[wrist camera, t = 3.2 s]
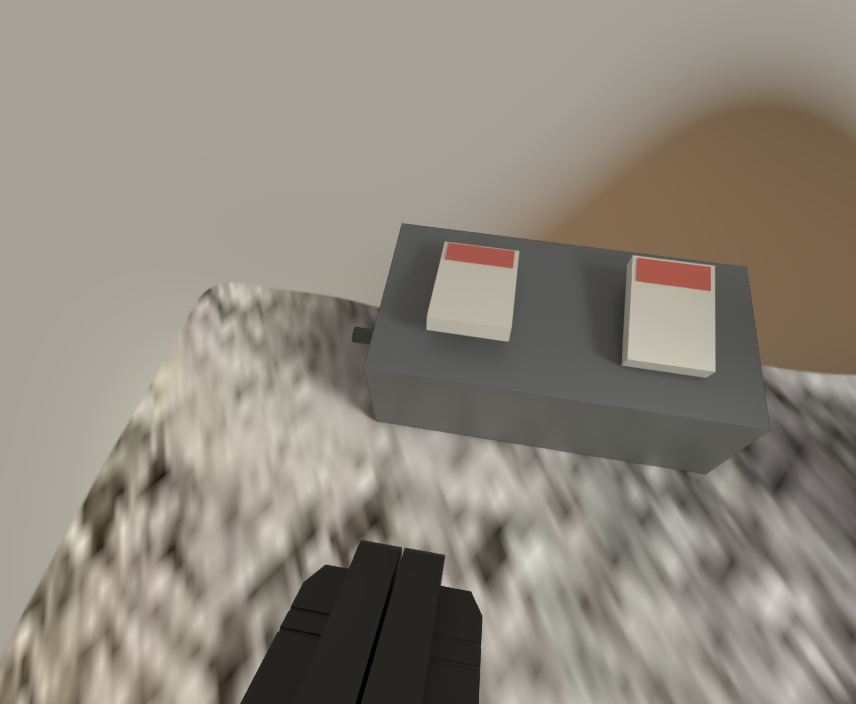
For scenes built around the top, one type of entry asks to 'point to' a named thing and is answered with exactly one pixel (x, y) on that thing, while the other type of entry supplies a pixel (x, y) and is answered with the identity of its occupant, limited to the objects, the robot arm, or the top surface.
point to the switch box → (561, 361)
